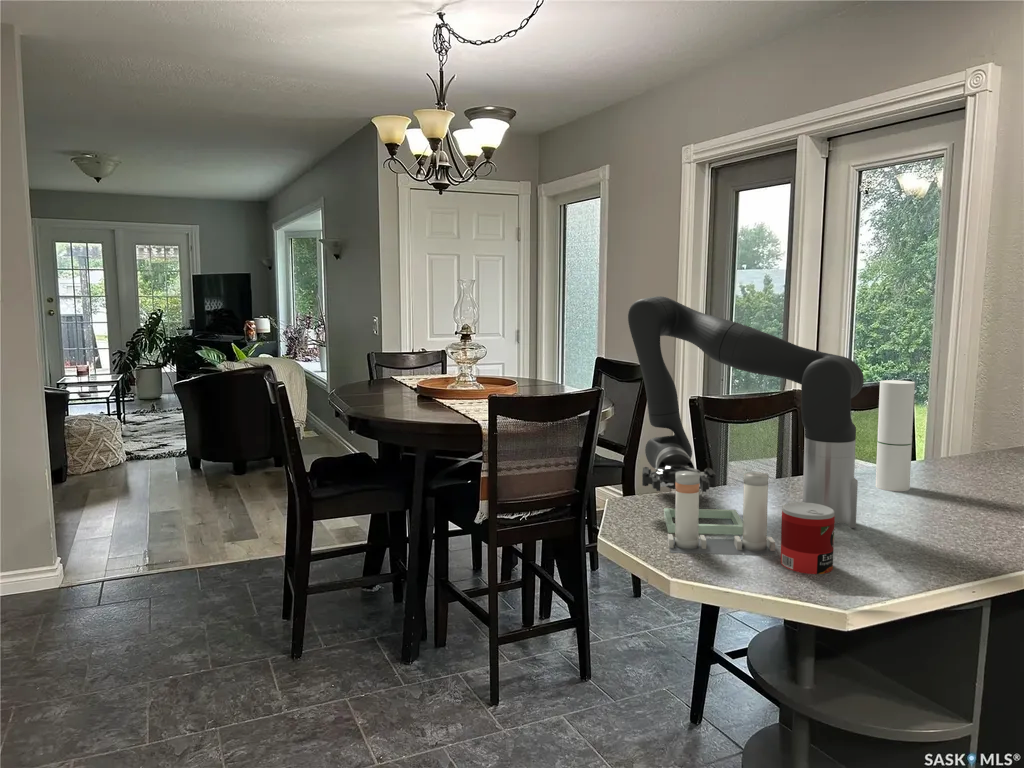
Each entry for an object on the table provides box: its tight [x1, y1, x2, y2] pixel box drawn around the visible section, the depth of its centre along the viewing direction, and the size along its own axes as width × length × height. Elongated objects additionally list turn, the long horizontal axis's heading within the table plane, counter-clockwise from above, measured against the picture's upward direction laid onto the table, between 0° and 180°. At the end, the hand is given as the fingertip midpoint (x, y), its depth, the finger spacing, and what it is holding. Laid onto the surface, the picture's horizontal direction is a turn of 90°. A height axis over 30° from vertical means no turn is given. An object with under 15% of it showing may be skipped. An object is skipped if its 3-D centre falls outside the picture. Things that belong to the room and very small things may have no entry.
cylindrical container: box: [875, 379, 916, 492], centre depth 171 cm, size 7×7×25 cm
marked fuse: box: [674, 471, 700, 549], centre depth 129 cm, size 4×4×13 cm
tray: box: [663, 507, 743, 536], centre depth 141 cm, size 14×11×3 cm
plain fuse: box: [741, 471, 770, 551], centre depth 127 cm, size 4×4×13 cm
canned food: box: [780, 501, 835, 575], centre depth 119 cm, size 8×8×11 cm
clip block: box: [666, 533, 779, 557], centre depth 129 cm, size 18×8×3 cm, turn 82°
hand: (681, 486), depth 139 cm, fingers open, 8 cm apart
